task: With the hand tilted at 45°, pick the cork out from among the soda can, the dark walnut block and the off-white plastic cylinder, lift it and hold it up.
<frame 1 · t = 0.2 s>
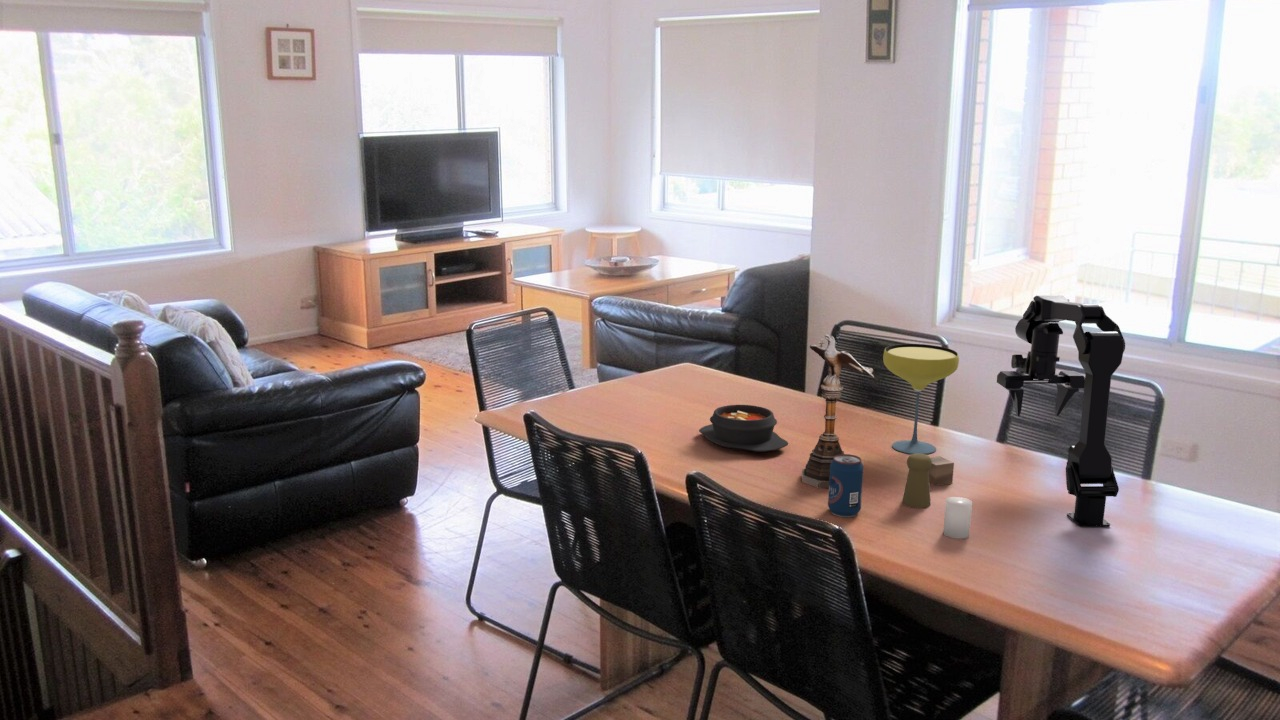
hand: (1037, 415, 244), 15 cm above the table, tool pointing down, fingers open, 9 cm apart
walnut block: (936, 481, 244), on the table
cork: (916, 504, 230), on the table
soda can: (844, 513, 224), on the table
off-white cylinder: (956, 533, 213), on the table
casserole: (742, 444, 269), on the table
cocktail glass: (913, 448, 267), on the table
bird statue: (830, 477, 245), on the table
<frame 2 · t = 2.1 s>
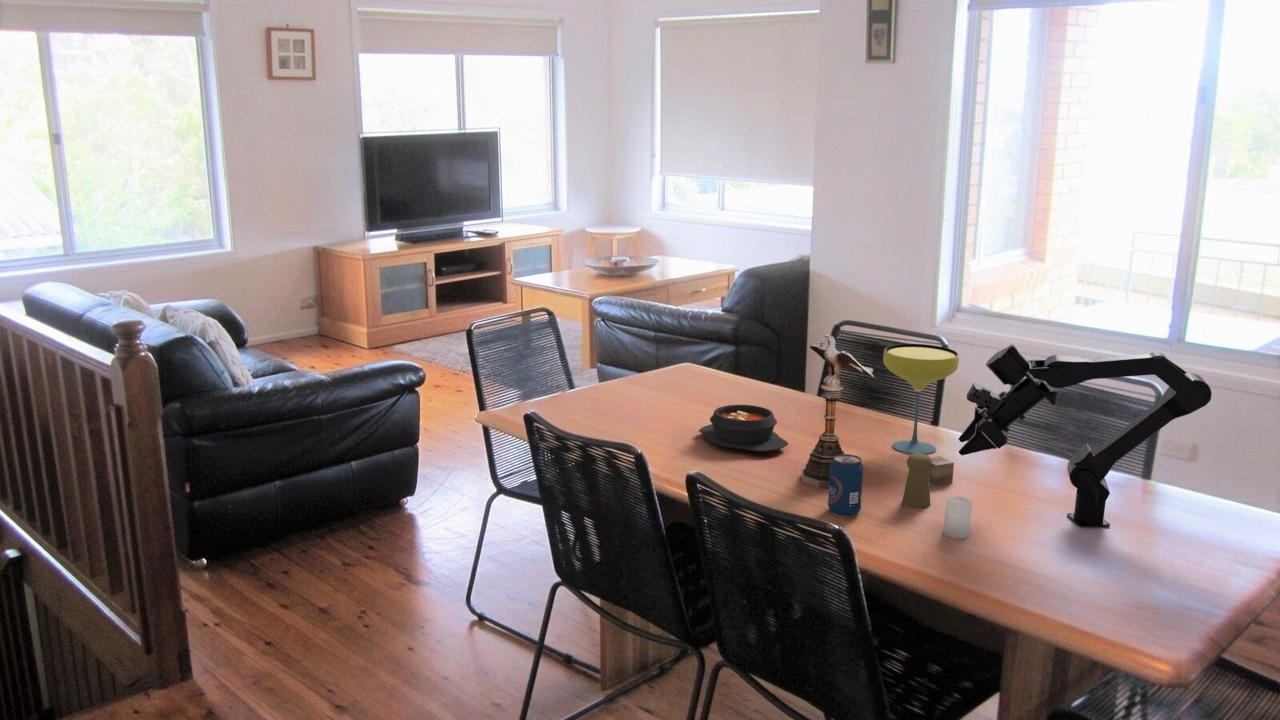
hand: (959, 447, 225), 13 cm above the table, tool tilted 45°, fingers open, 9 cm apart
nothing on the table moved.
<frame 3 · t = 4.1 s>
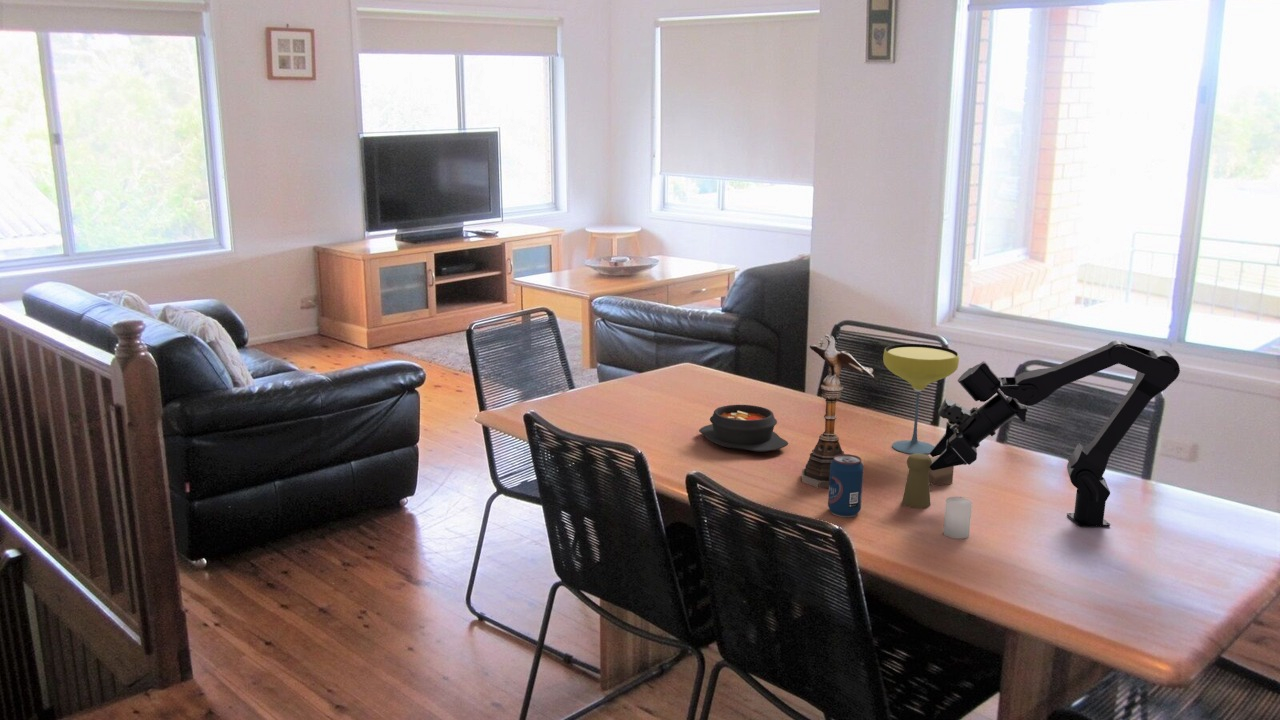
hand: (930, 461, 227), 10 cm above the table, tool tilted 45°, fingers open, 9 cm apart
nothing on the table moved.
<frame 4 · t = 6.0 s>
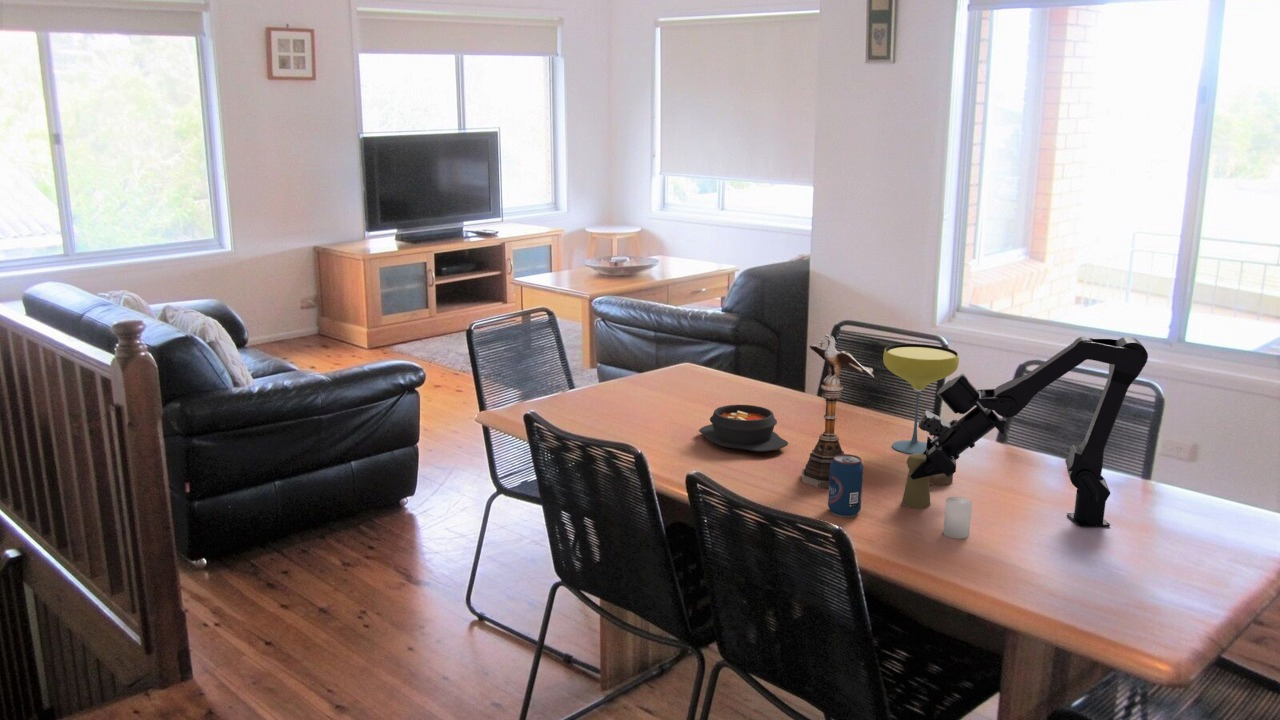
hand: (911, 473, 228), 7 cm above the table, tool tilted 45°, fingers closed on cork, 5 cm apart
cork: (916, 503, 230), on the table, touching gripper
everything else where it was.
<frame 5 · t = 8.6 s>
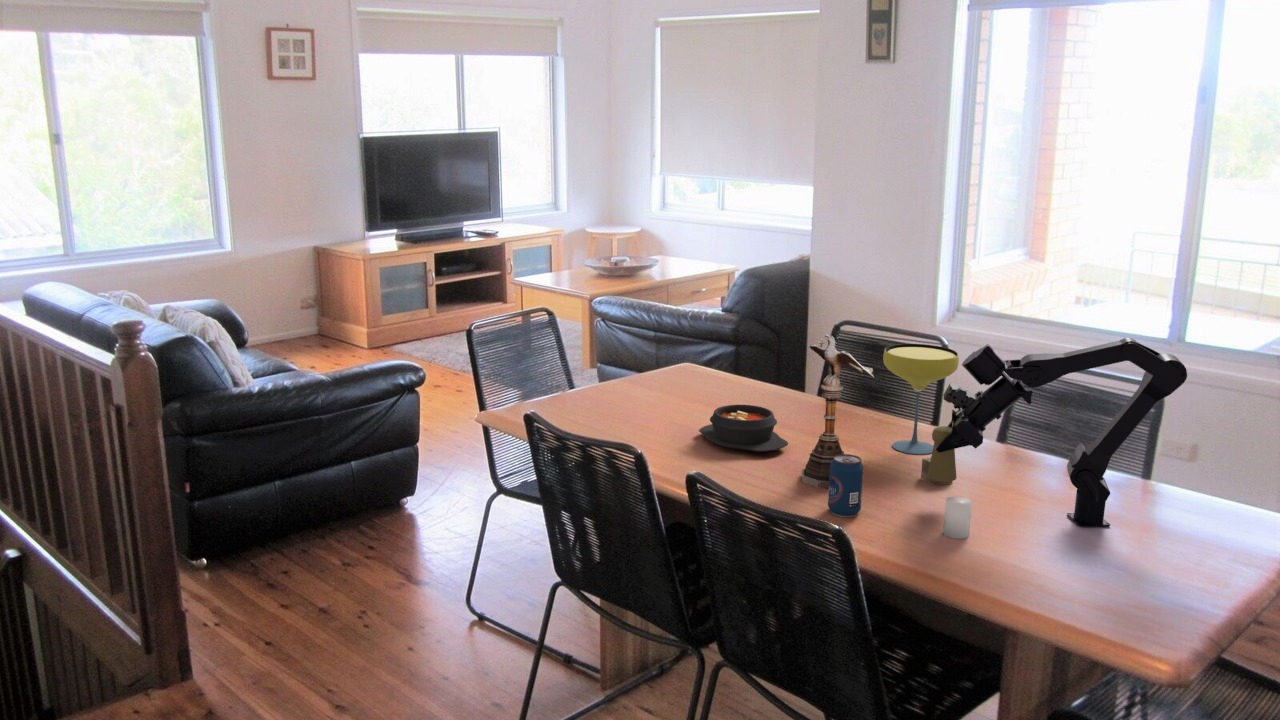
hand: (937, 447, 226), 13 cm above the table, tool tilted 45°, fingers closed on cork, 5 cm apart
cork: (941, 477, 227), point 6 cm above the table, touching gripper
everything else where it was.
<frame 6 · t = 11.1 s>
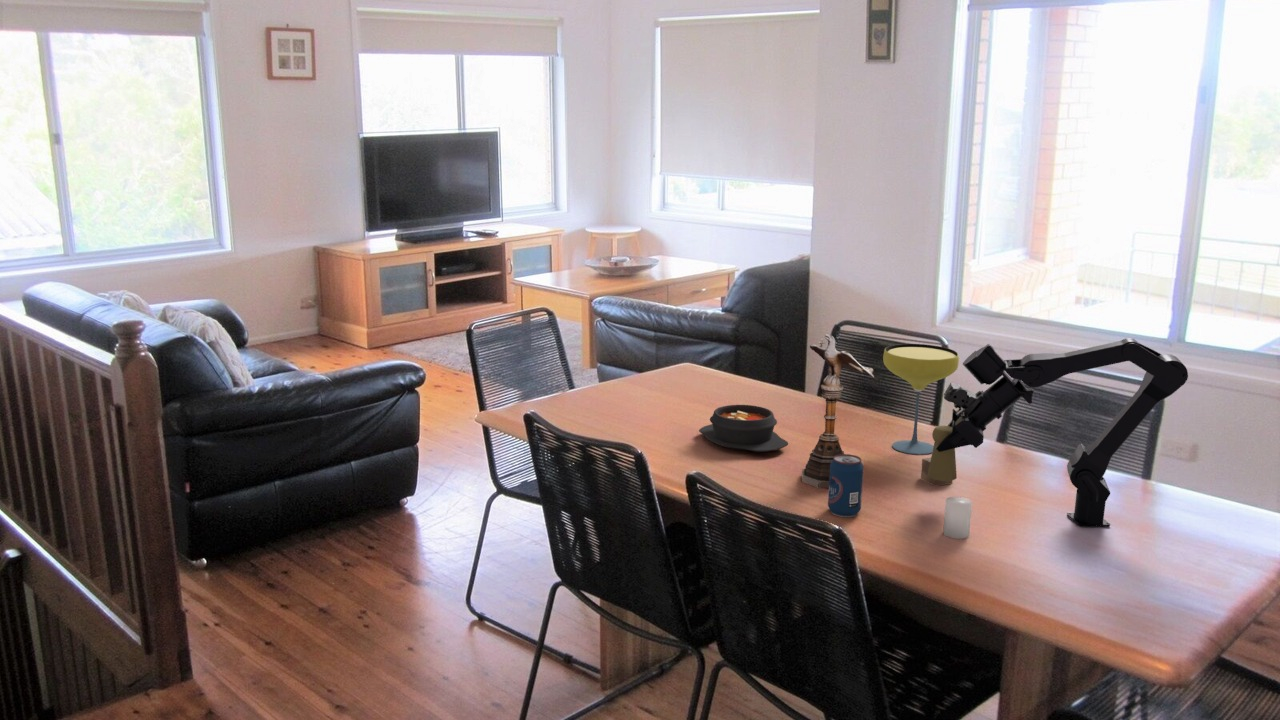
hand: (937, 446, 225), 13 cm above the table, tool tilted 45°, fingers closed on cork, 5 cm apart
cork: (942, 477, 227), point 7 cm above the table, touching gripper
everything else where it was.
at the end: the gripper is holding cork; cork point 6.5 cm above the table; walnut block moved 0.1 cm from its start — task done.
